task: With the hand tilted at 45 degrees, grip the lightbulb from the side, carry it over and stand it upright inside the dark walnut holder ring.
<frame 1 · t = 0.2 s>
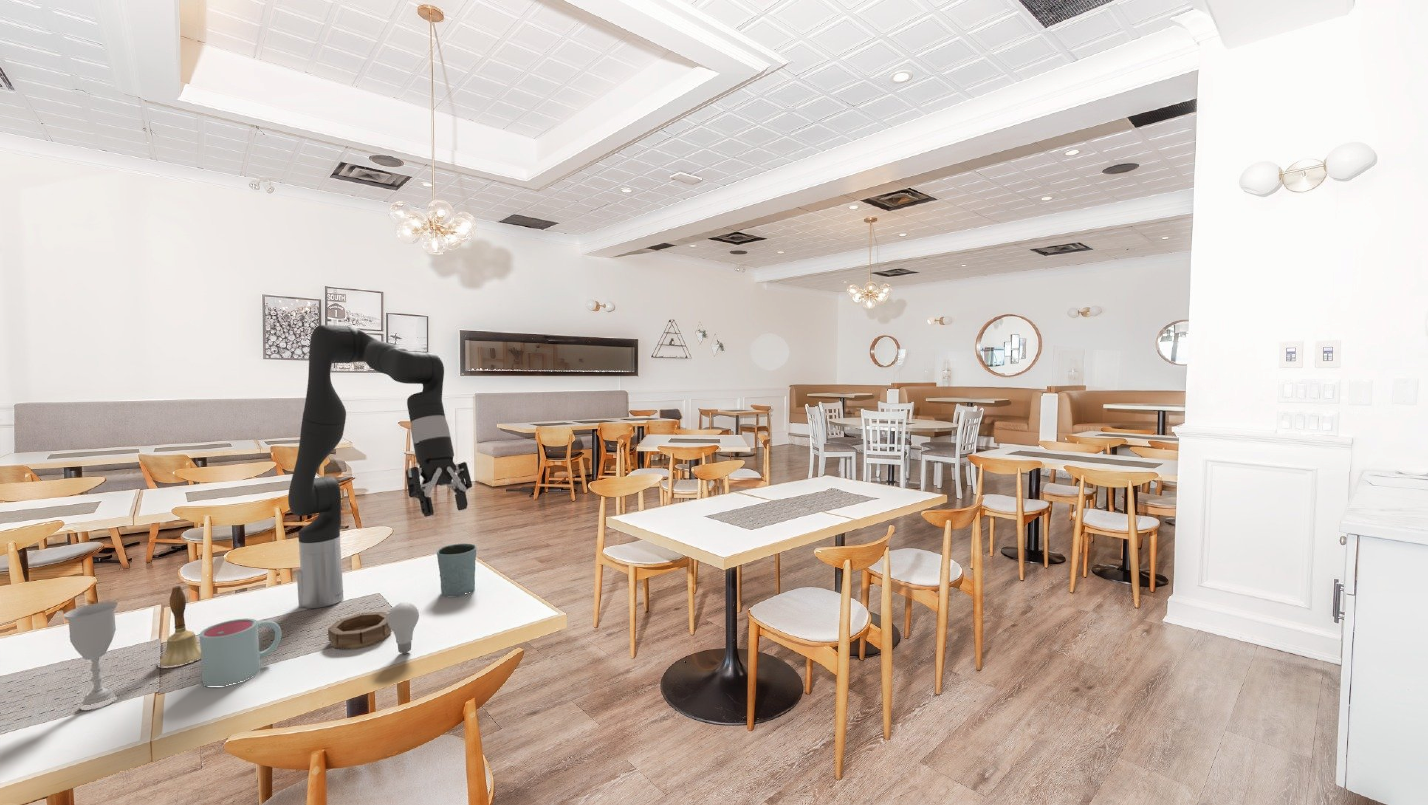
hand: (446, 512, 131), 31 cm above the table, tool tilted 20°, fingers open, 8 cm apart
mug: (245, 672, 126), on the table
holder: (361, 637, 141), on the table
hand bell: (183, 660, 132), on the table
lightbulb: (405, 654, 133), on the table
chalice: (98, 704, 115), on the table
teal cylindrical pot: (458, 592, 169), on the table
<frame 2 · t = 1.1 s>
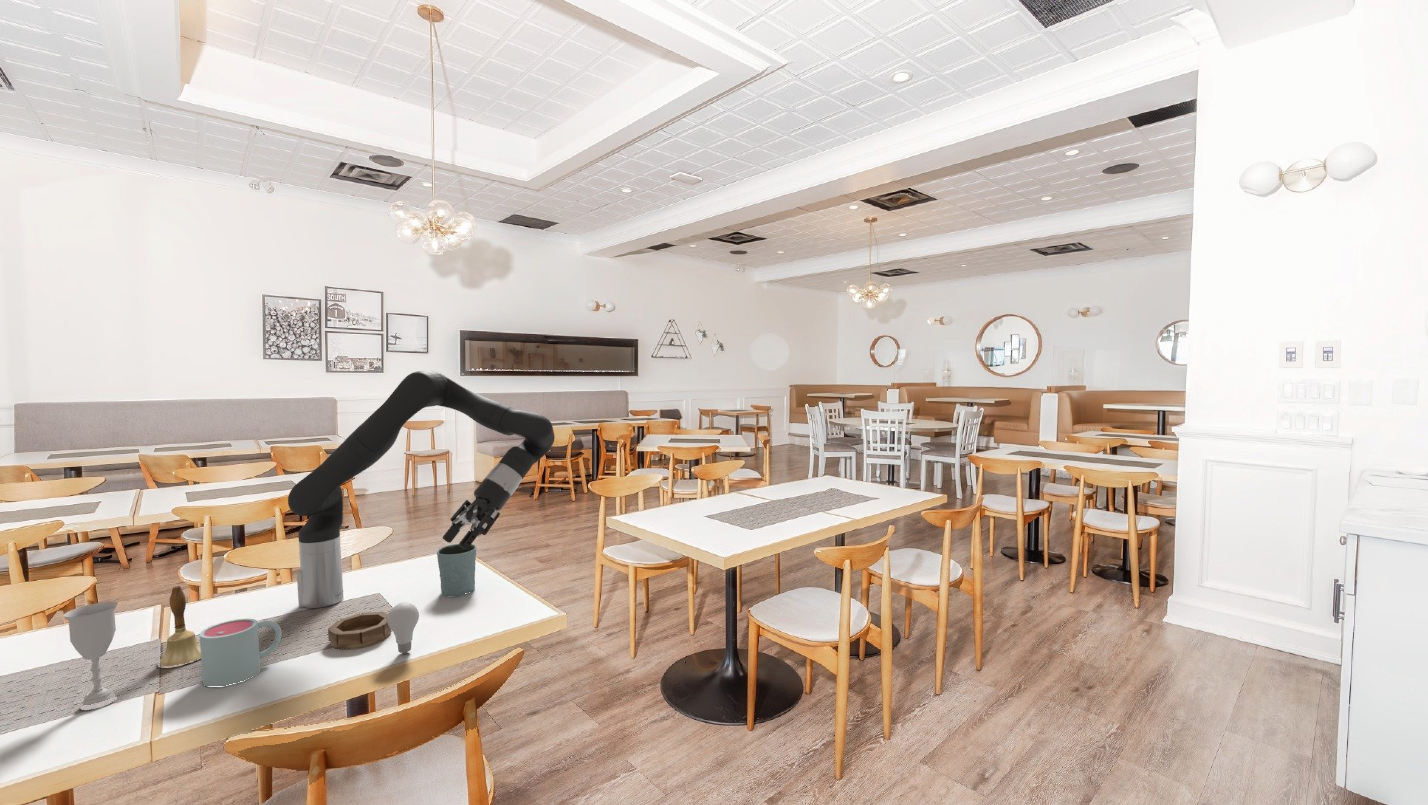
hand: (453, 544, 140), 21 cm above the table, tool tilted 45°, fingers open, 8 cm apart
nothing on the table moved.
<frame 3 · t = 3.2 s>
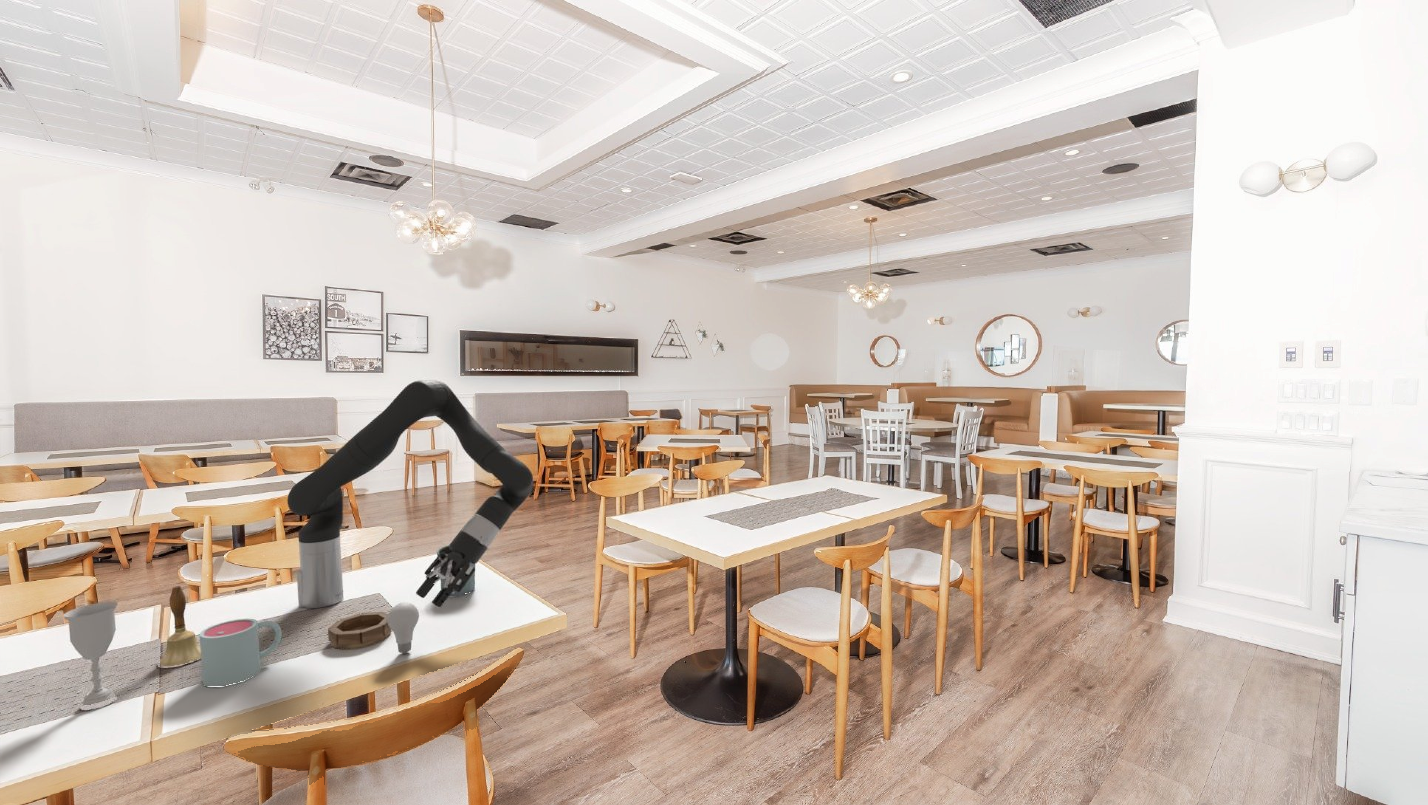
hand: (427, 600, 136), 10 cm above the table, tool tilted 45°, fingers open, 8 cm apart
nothing on the table moved.
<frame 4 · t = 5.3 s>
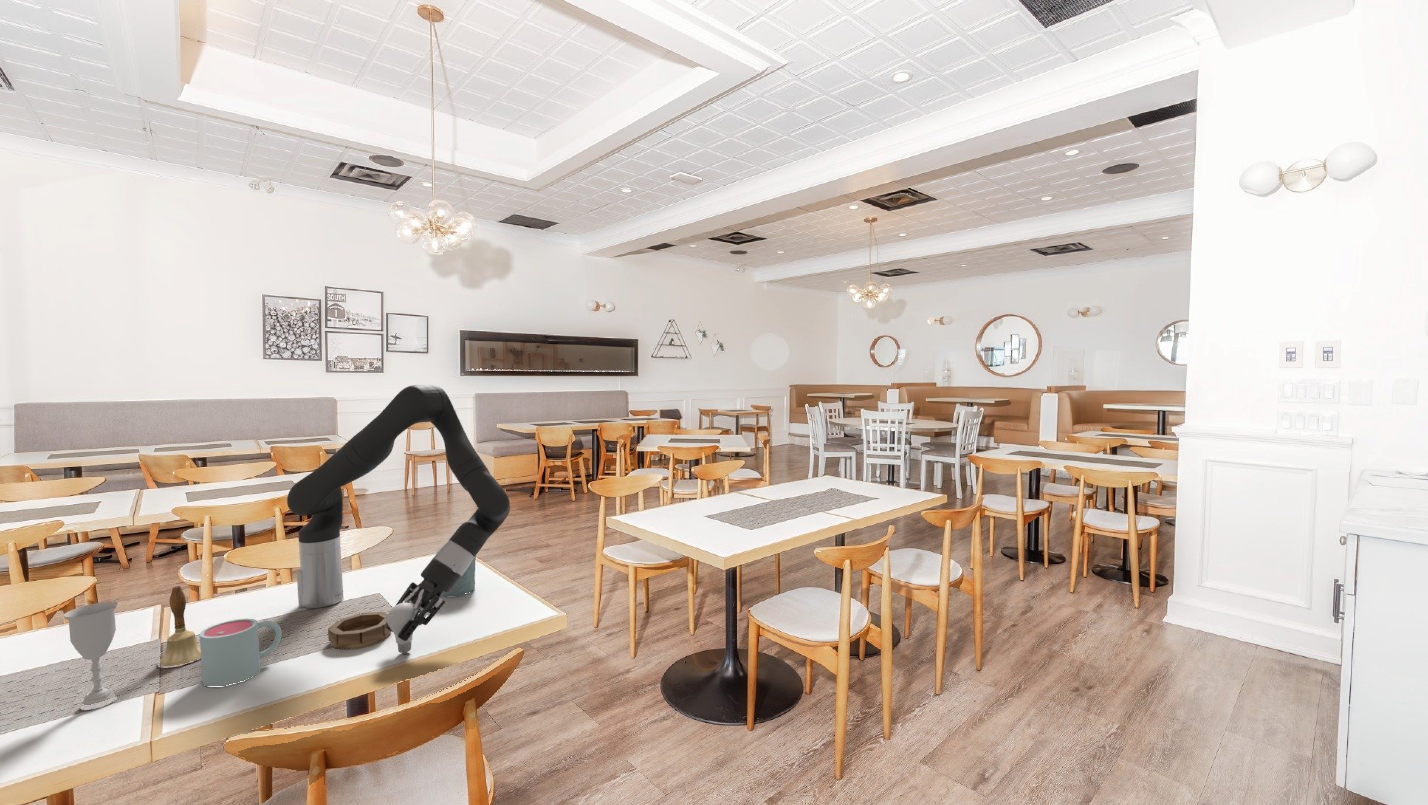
hand: (395, 634, 131), 5 cm above the table, tool tilted 45°, fingers closed on lightbulb, 6 cm apart
lightbulb: (405, 654, 133), on the table, touching gripper
everything else where it was.
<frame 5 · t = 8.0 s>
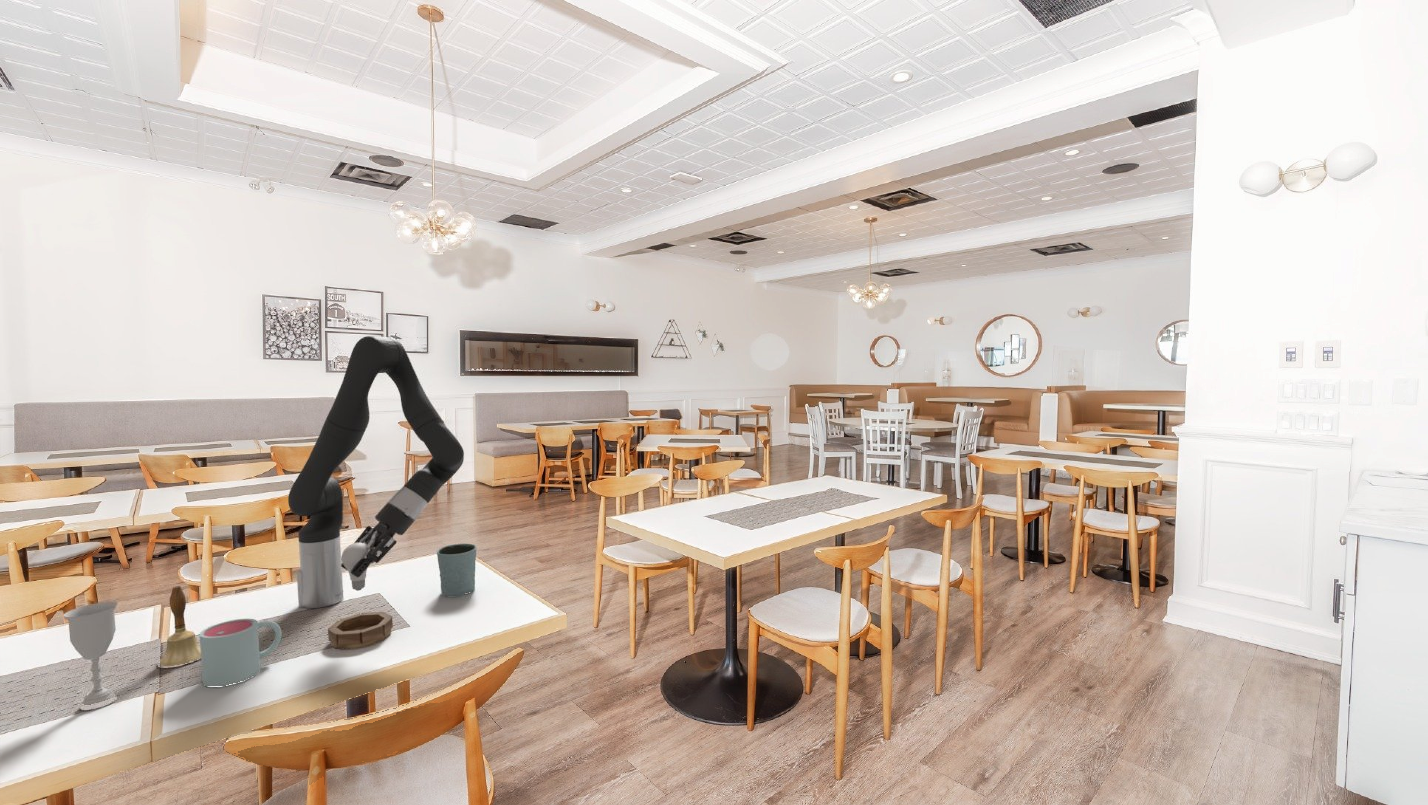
hand: (349, 571, 139), 16 cm above the table, tool tilted 45°, fingers closed on lightbulb, 6 cm apart
lightbulb: (358, 591, 140), point 11 cm above the table, touching gripper
everything else where it was.
when the fingers open (7 cm above the table, at t = 10.7 s): lightbulb drops 1 cm, resting on holder.
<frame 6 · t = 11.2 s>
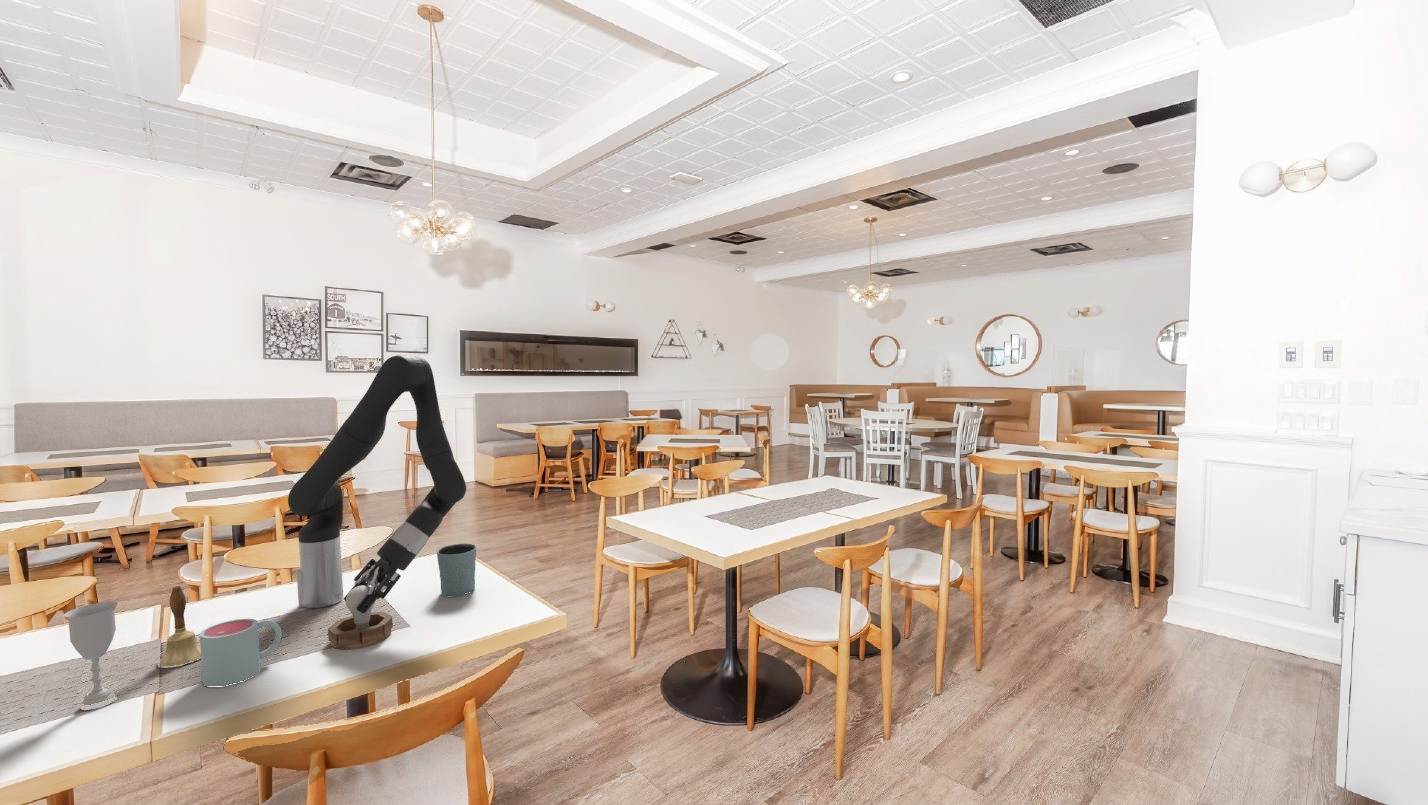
hand: (353, 606, 140), 8 cm above the table, tool tilted 45°, fingers open, 8 cm apart
lightbulb: (362, 634, 141), point 1 cm above the table, touching holder
everything else where it was.
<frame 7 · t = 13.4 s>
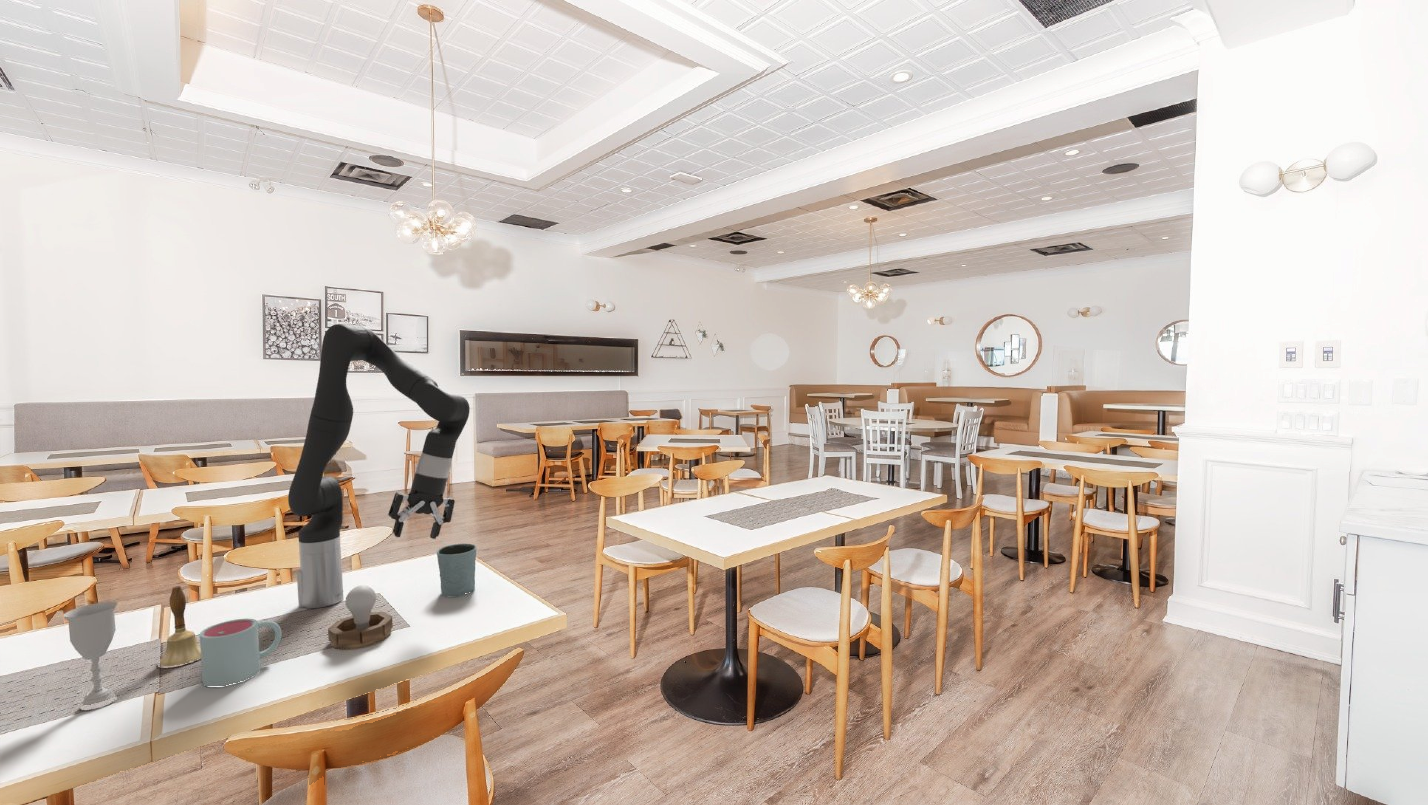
hand: (415, 537, 151), 20 cm above the table, tool tilted 15°, fingers open, 8 cm apart
nothing on the table moved.
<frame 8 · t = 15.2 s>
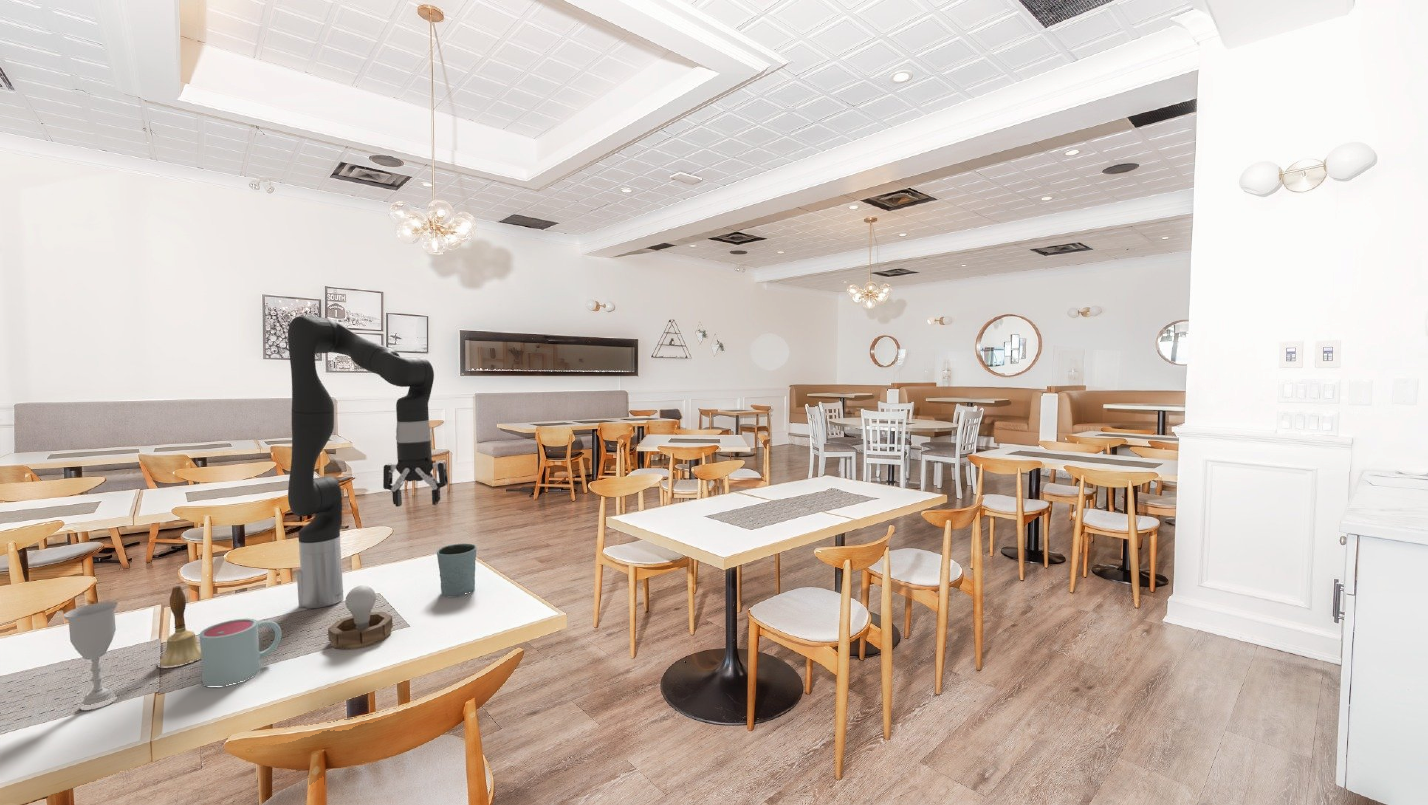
hand: (417, 505, 150), 28 cm above the table, tool pointing down, fingers open, 8 cm apart
nothing on the table moved.
at the end: lightbulb 0.3 cm from the holder (horizontally); lightbulb tilted 0°; the gripper is holding nothing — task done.
